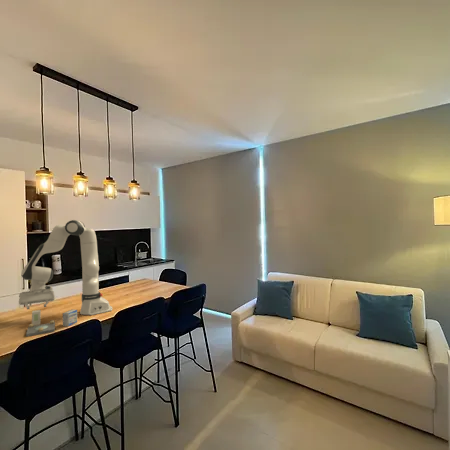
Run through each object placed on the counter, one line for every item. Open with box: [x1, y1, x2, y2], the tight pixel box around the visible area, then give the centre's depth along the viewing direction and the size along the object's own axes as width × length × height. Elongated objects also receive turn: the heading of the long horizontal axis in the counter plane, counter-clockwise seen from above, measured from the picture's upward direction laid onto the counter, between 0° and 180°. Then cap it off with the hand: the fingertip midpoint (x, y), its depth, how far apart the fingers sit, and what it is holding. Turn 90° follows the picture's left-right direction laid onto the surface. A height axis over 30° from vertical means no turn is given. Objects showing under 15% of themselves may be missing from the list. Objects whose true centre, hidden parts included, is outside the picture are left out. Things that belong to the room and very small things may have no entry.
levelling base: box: [25, 319, 56, 338], centre depth 161 cm, size 14×14×3 cm
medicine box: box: [62, 309, 78, 328], centre depth 171 cm, size 8×4×9 cm, turn 170°
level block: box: [31, 309, 42, 326], centre depth 172 cm, size 4×5×8 cm
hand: (36, 307), depth 176 cm, fingers open, 8 cm apart
